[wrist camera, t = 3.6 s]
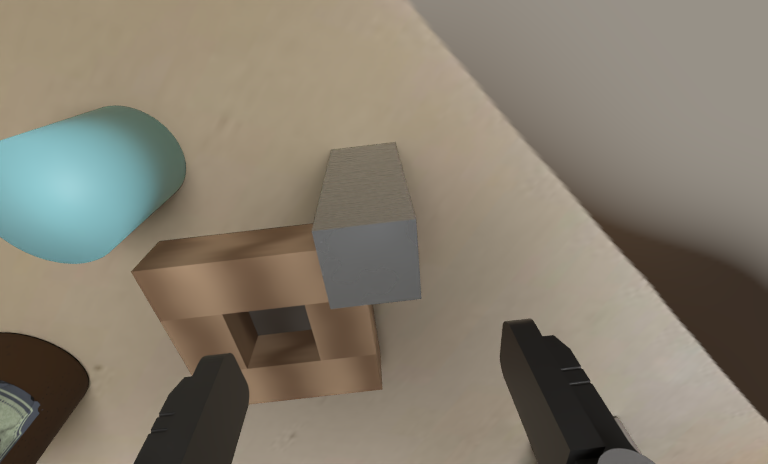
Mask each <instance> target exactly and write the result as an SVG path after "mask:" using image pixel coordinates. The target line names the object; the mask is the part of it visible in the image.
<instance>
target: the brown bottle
mask: <svg viewBox="0 0 768 464" xmlns="http://www.w3.org/2000/svg"><path fill="white" fill-rule="evenodd" d="M87 388H88V377H87V374H86V372H85V370H84V369H83V367H82V366H81V365H80V364H79V362H78V361H77V360H76V359H74V358H73V357H72V356H71V355H69V354H68V353H67V352H65V351H63V350H62V349H60V348H58V347H56V346H54V345H52V344H50V343H48V342H45V341H43V340H40V339H37V338H33V337H29V336H25V335H20V334H12V333H0V464H36V463H37V461H38V460H39V458H40V457H41V455H42V454H43V453H44V451H45V450H46V448H47V447H48V445H49V444H50V443H51V441H52V440H53V438H54V437H55V436H56V434H57V433H58V431H59V430H60V428H61V427H62V426H63V424H64V423H65V421H66V420H67V419H68V417H69V416H70V414H71V413H72V412H73V410H74V409H75V407H76V406H77V404H78V403H79V402H80V400H81V399H82V397H83V396H84V394H85V393H86V391H87Z"/></svg>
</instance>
